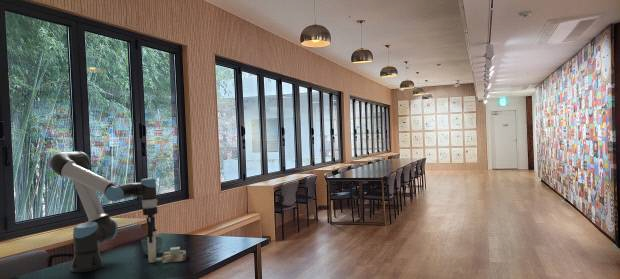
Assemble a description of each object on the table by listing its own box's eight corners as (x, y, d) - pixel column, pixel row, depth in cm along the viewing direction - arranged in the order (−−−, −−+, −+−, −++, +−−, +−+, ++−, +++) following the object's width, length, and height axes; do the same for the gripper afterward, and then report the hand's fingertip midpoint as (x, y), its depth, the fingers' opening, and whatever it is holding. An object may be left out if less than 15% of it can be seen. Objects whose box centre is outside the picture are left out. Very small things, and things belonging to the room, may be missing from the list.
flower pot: (155, 256, 258) (154, 240, 258) (141, 255, 260) (140, 240, 260) (163, 252, 267) (162, 236, 267) (149, 252, 269) (149, 236, 269)
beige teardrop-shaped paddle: (148, 263, 243) (146, 237, 243) (148, 260, 248) (147, 235, 248) (180, 259, 247) (178, 234, 247) (180, 257, 252) (179, 232, 252)
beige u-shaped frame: (162, 263, 242) (162, 256, 242) (163, 258, 252) (163, 252, 252) (185, 260, 245) (185, 254, 245) (186, 256, 255) (185, 250, 255)
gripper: (155, 209, 234) (157, 250, 234) (158, 203, 259) (161, 240, 259) (139, 210, 232) (142, 252, 233) (144, 204, 257) (147, 242, 257)
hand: (152, 246), depth 246 cm, fingers open, 13 cm apart
